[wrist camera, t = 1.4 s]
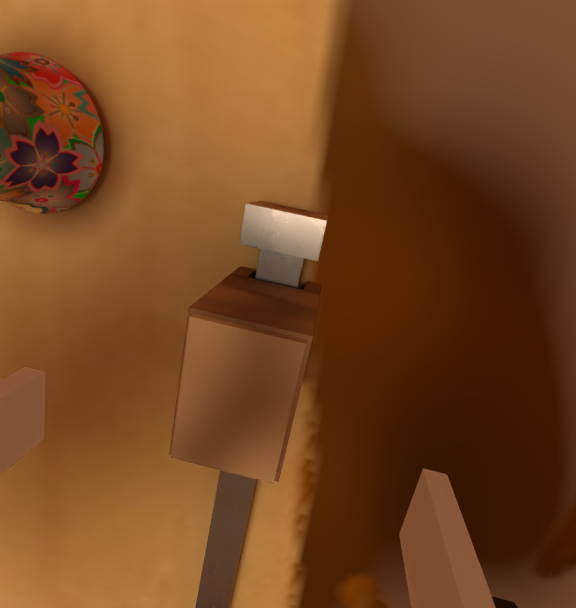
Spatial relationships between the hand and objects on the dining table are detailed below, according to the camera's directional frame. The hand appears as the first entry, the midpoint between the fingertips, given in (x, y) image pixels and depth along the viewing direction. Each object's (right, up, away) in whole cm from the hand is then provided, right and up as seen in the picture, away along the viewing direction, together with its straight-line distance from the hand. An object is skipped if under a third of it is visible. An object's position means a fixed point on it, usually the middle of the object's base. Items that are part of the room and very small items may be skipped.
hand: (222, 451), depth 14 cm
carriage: (+1, +4, +12) cm, 12 cm away
